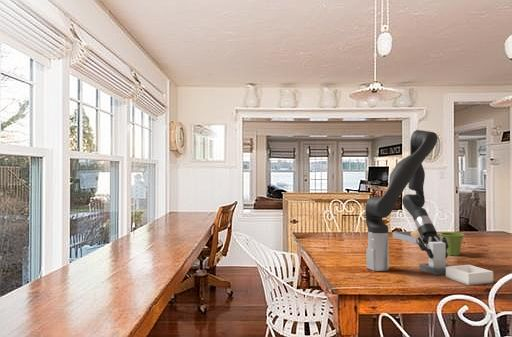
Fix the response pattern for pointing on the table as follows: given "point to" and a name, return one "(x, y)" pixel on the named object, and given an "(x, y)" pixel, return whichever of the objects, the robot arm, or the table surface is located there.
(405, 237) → the tray rim
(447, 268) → the bin
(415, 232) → the tan rock hide
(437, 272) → the collar
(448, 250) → the plant pot
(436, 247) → the skincare box
